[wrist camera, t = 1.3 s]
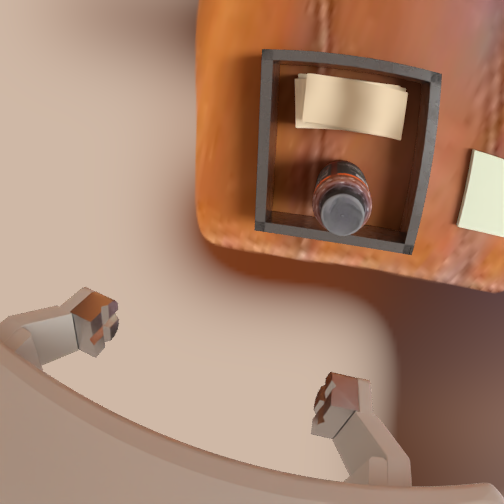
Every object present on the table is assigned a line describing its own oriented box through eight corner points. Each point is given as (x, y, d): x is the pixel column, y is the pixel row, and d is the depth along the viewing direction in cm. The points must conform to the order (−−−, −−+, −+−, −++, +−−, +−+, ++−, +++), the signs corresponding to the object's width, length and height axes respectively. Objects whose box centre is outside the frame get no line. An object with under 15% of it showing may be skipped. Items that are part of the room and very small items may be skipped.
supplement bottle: (314, 202, 38) (303, 239, 29) (320, 155, 36) (312, 176, 26) (361, 211, 37) (366, 252, 28) (370, 164, 34) (381, 189, 25)
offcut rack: (431, 76, 27) (441, 74, 24) (406, 240, 37) (411, 254, 34) (270, 54, 31) (262, 49, 28) (262, 218, 41) (254, 230, 38)
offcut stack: (402, 89, 29) (414, 86, 24) (397, 139, 32) (408, 146, 27) (299, 75, 32) (292, 69, 27) (297, 125, 35) (289, 128, 30)
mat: (530, 168, 27) (533, 170, 26) (512, 237, 32) (514, 240, 31) (472, 149, 29) (474, 150, 29) (456, 224, 34) (458, 226, 33)
